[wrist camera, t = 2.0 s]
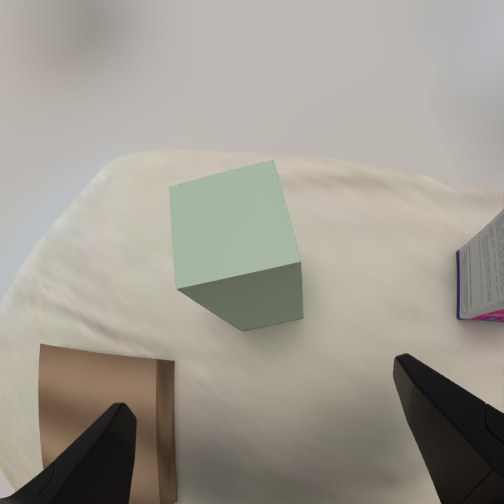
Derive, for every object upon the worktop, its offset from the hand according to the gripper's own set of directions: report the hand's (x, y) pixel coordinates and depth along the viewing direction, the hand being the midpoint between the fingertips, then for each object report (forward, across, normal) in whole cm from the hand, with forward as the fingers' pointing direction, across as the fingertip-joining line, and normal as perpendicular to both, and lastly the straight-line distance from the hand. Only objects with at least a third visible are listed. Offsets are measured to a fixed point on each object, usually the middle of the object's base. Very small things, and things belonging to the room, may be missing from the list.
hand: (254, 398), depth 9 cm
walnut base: (+7, +15, +10) cm, 19 cm away
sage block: (+13, 0, +4) cm, 14 cm away
